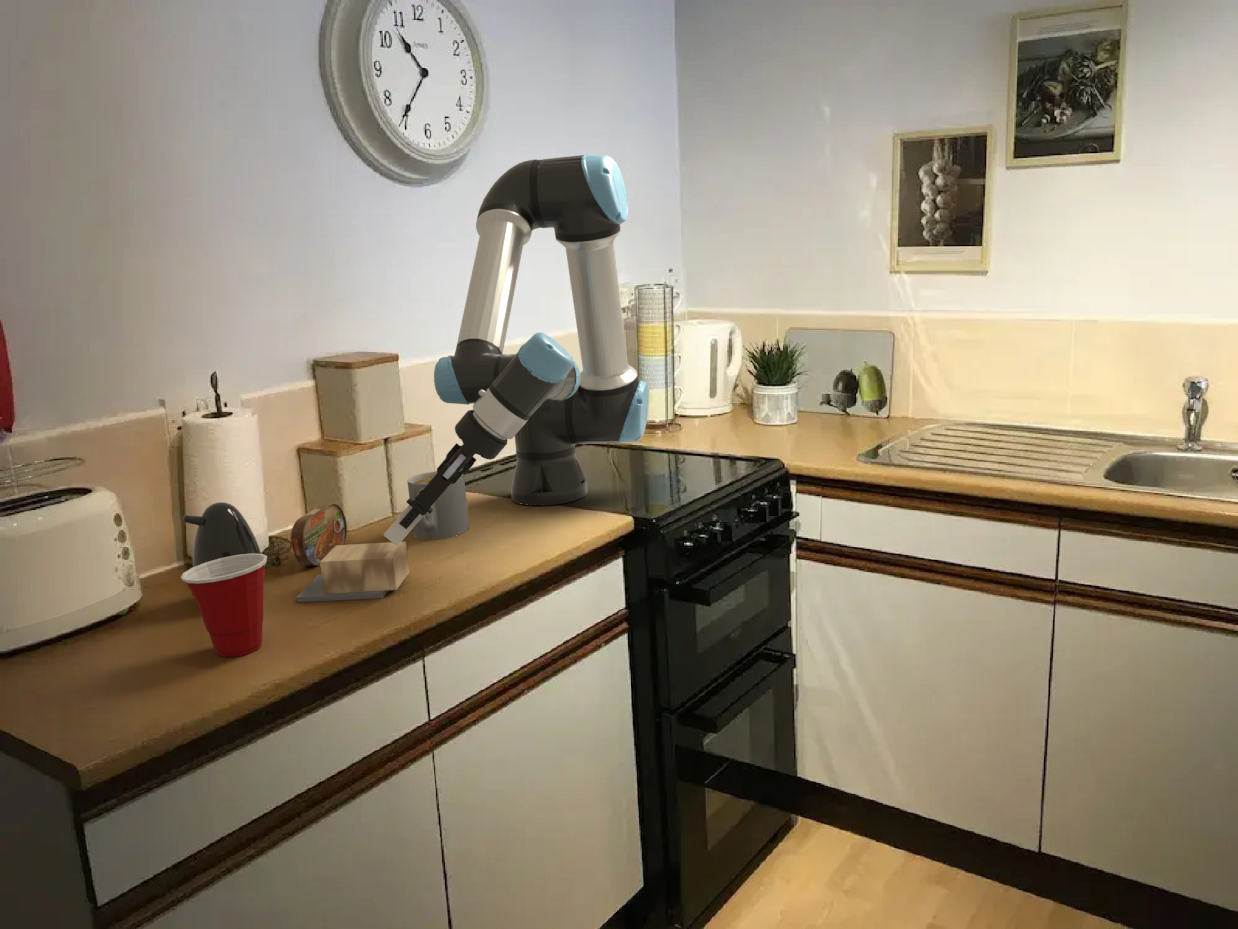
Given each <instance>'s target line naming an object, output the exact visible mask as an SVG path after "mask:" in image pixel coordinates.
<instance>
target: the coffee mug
mask: <svg viewBox="0 0 1238 929" xmlns="http://www.w3.org/2000/svg"><path fill="white" fill-rule="evenodd" d="M436 474H437V470H434V471H427V472H423V473H419V474H416V475H413V476H411V477H409V478H408V479H407V489H408V495H409V498H410V499H412V500H415V497H416V496H418V495H419V493H420V491H421V490H423V489H424V488H425V487H426V486H427V485H428V483H429V482H430V481H431V480H432V479H433V478H434V476H435V475H436ZM464 476H465V475H464V474H463V475H462V476H461V477H460V478H459V479H458V480H457V482H456V483H455V484H450V485H449V486H448V488H447V489H446V490H445V491H444V492H443V493H442V494H441V496H440V497H439V498H438V499H437V500H436V501H435V502H434V504H433V505H432V506H431V508H432V509H433V511H432V512H431V513H430V514H429V513H428V512H427V513H426V514H425V515H424V516H423V517H422V518H421V519H420V520H419V522H418V523H417V524H416V525H415V526H414V527H413V529H412V532H413V536H414V537H415V538H418V539H422V540H441V539H449V538H453V536H454V537H457V536H456V535H458V536H460V535H462V534H465V533H466V531H467V530H468V529H469V530H470V524H469V512H468V511H469V510H468V504H467V495H466V484H465V477H464ZM409 498H408V499H409ZM469 530H468V531H469ZM468 531H467V532H468ZM459 534H460V535H459Z"/></svg>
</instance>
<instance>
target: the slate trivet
mask: <svg viewBox="0 0 1238 929" xmlns="http://www.w3.org/2000/svg"><path fill="white" fill-rule="evenodd" d="M388 592H389V590H383V591H364V592H345V593H325V594H324V587H323V580H322V574H317V575H316V577H314V579H313V580H312V581H311V582H310V583H309V584H308V585H307V586H306V587H304V589H302V591H301V592H300V593H298V595H297V596H296V602H297V603H310V602H330V601H349V600H350V601H352V600H366V599H367V600H368V599H383V598H384V597H385V595H386V594H387V593H388Z"/></svg>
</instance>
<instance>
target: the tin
mask: <svg viewBox="0 0 1238 929" xmlns="http://www.w3.org/2000/svg"><path fill="white" fill-rule="evenodd" d="M347 528H348V526H347V520H346V516H345V514H344V510H343V509H342V508H341V507H340V505H338V504H336V503H330V504H324V505H323V504H322V505H319V506H317V507H315V508H314V509H312V510H311V511H309V512H307V513H306V514H304V515H303V516H301V517H300V518H297V519H296V521H295V522H294V524H293V525H292V529H291V532H290V541H291V545H292V551H293V554H294V558H295V561H296V562H298V564H300V565H301V566H305V567H308V566H309V567H311V566H312V567H313V566H315V567H319V566H320V561H321V560H322V559H323V558H324V557H325V556H326V555H327V554H328V553H329V552H330V551H331V550H332V549H333V548H334V547H335V546H336V545H346V542H347V535H348V529H347Z"/></svg>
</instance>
